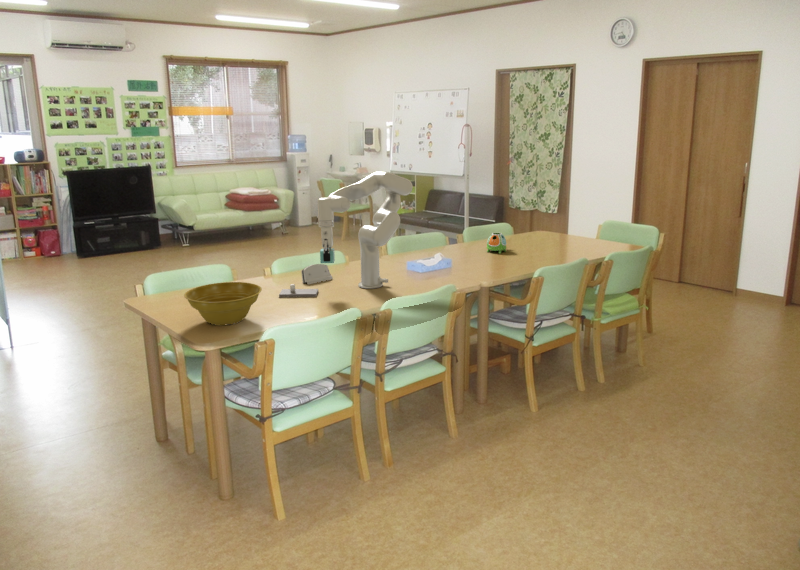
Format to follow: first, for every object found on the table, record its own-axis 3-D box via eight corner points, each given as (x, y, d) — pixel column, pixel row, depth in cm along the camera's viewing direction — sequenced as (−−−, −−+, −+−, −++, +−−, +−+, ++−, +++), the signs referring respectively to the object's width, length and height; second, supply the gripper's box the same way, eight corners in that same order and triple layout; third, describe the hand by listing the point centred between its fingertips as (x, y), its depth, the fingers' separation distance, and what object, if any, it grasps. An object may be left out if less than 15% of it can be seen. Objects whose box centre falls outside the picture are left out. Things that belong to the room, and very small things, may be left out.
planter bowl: (202, 338, 262) (199, 305, 258) (176, 318, 287) (173, 289, 284) (276, 322, 280) (274, 292, 276) (245, 306, 305) (243, 278, 302)
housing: (334, 260, 323) (334, 248, 322) (333, 263, 317) (333, 251, 316) (321, 260, 323) (321, 248, 322) (320, 263, 317) (320, 251, 316)
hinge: (307, 284, 343) (303, 266, 343) (303, 286, 347) (298, 267, 347) (333, 279, 354) (329, 261, 354) (328, 280, 358) (324, 262, 358)
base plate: (318, 291, 329) (317, 281, 328) (316, 296, 319) (315, 287, 318) (282, 292, 329) (281, 282, 328) (279, 297, 319) (278, 287, 318)
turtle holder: (510, 249, 428) (511, 231, 425) (502, 254, 412) (503, 235, 409) (492, 247, 433) (493, 230, 430) (483, 252, 418) (484, 234, 415)
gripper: (332, 226, 307) (333, 263, 312) (335, 220, 324) (336, 256, 328) (316, 226, 307) (318, 263, 312) (320, 220, 324) (321, 256, 328)
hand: (327, 259), depth 320 cm, fingers closed on housing, 6 cm apart
